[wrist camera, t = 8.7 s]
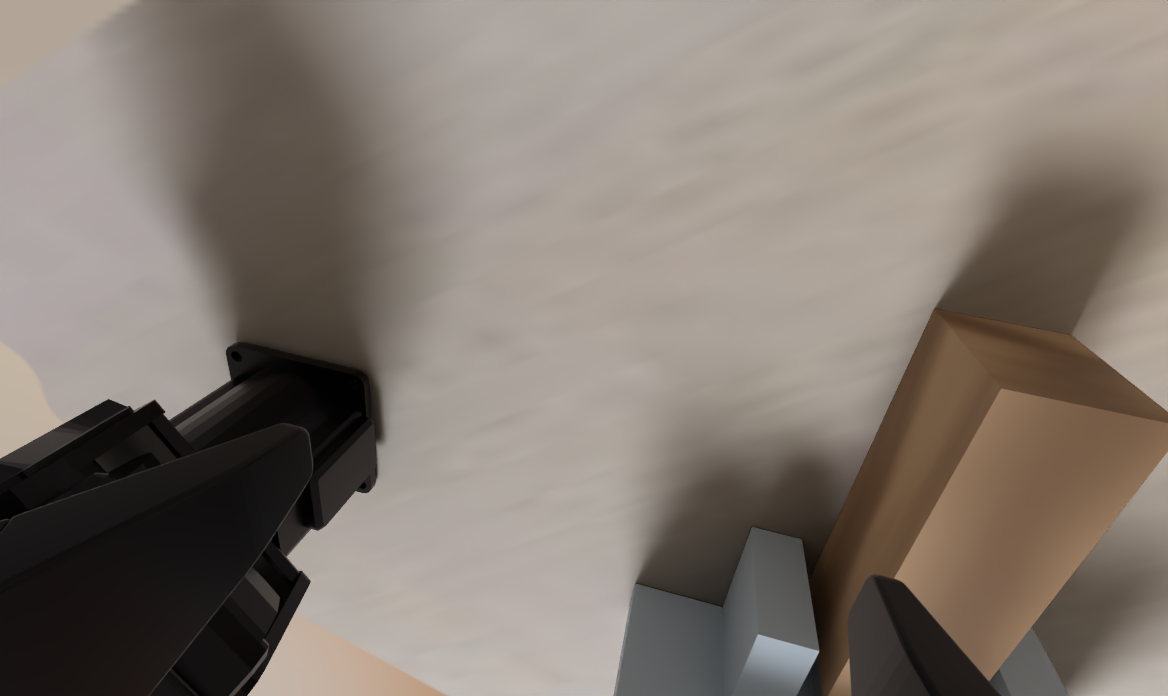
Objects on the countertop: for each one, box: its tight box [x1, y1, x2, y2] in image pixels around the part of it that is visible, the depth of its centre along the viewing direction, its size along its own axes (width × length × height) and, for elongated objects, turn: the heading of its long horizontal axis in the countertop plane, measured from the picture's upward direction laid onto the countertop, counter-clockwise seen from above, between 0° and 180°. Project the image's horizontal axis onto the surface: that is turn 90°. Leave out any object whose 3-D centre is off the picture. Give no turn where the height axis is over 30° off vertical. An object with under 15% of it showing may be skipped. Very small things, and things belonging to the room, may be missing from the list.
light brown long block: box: [809, 309, 1168, 696], centre depth 19 cm, size 4×14×5 cm, turn 173°
